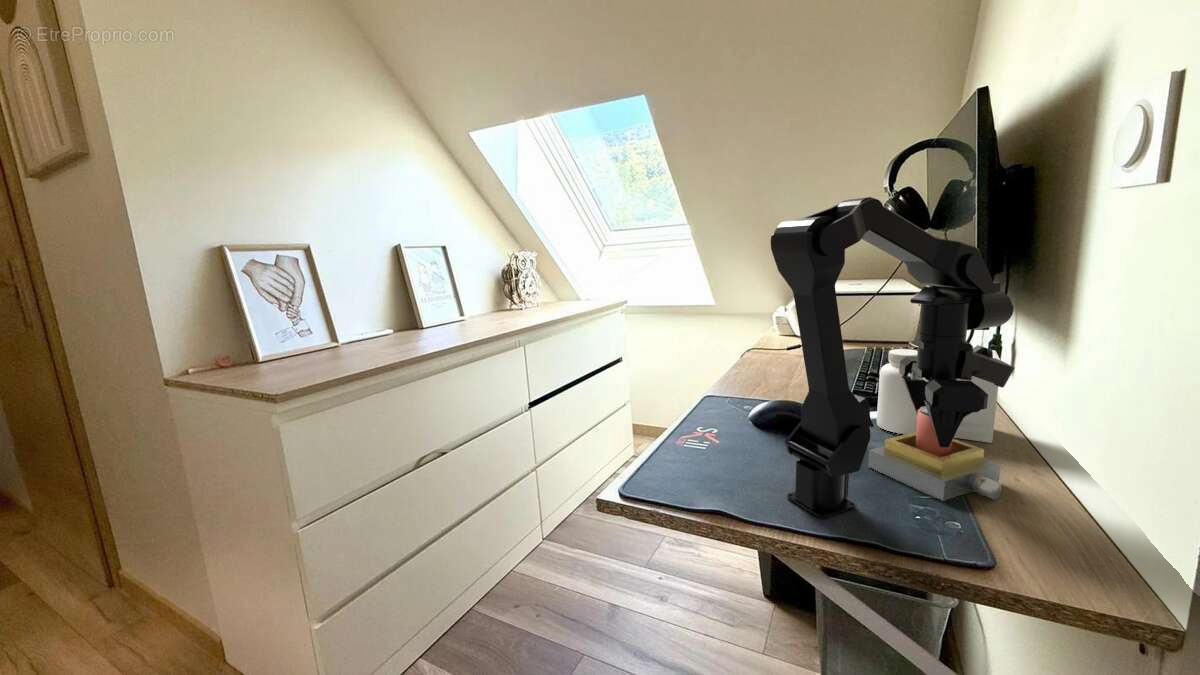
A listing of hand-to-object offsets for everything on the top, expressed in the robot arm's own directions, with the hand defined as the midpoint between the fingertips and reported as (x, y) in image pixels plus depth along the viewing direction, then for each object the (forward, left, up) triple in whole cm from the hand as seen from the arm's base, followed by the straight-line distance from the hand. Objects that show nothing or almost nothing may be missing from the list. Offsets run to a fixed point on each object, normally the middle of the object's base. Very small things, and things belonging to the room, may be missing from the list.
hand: (933, 434), depth 75 cm
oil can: (0, 0, -4) cm, 4 cm away
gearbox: (0, -2, -6) cm, 7 cm away
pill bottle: (+13, +15, -7) cm, 21 cm away
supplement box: (+21, +9, -7) cm, 24 cm away
